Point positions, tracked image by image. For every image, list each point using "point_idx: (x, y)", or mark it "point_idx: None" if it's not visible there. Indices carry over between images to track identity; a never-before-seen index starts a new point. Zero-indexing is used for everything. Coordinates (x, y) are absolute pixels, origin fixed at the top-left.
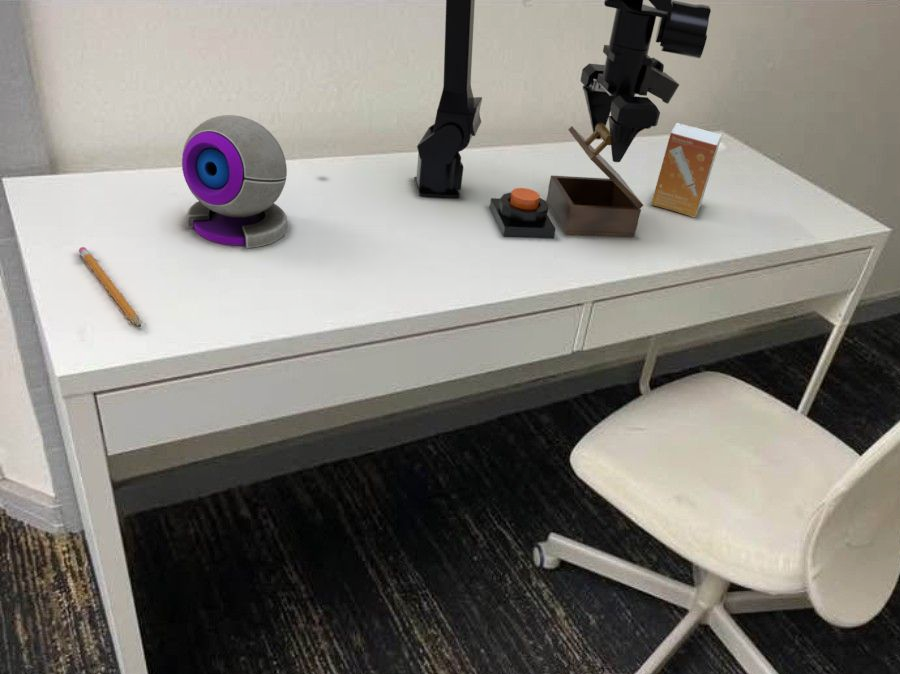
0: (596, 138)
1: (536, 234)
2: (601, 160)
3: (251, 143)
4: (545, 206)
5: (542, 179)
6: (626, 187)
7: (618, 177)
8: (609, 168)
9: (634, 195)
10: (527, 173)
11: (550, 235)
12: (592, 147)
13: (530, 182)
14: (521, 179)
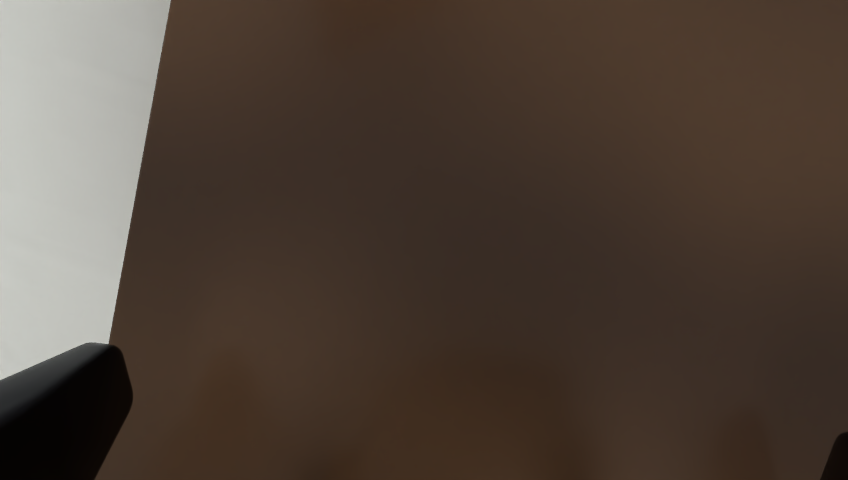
0: (128, 385)
1: None
2: (617, 469)
3: None
4: None
5: (59, 215)
6: (835, 153)
7: (596, 153)
8: (606, 315)
9: (819, 12)
10: (19, 263)
11: None
12: (157, 319)
13: (116, 282)
14: (98, 310)
